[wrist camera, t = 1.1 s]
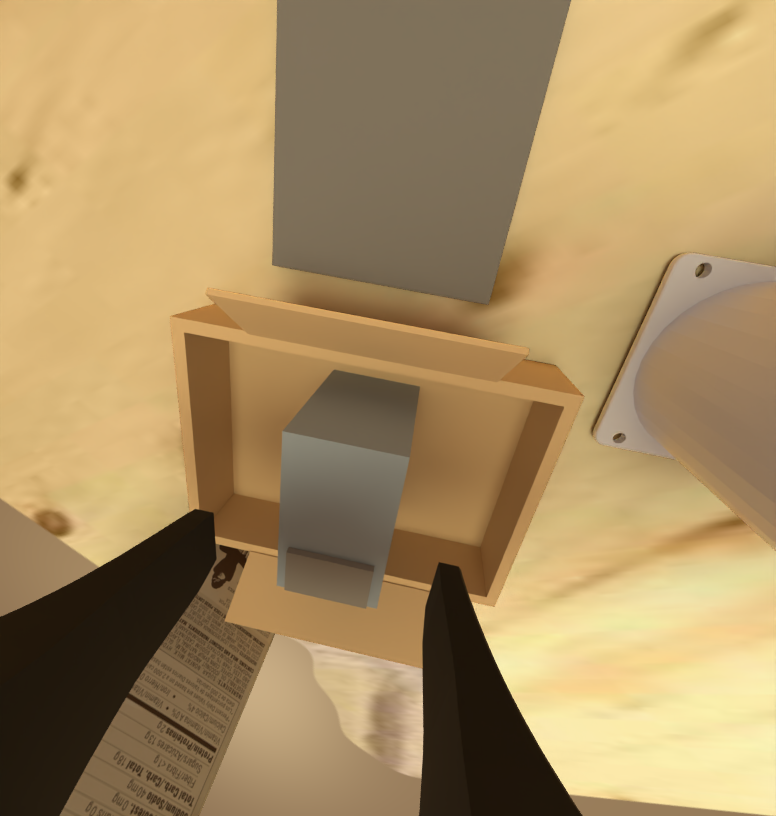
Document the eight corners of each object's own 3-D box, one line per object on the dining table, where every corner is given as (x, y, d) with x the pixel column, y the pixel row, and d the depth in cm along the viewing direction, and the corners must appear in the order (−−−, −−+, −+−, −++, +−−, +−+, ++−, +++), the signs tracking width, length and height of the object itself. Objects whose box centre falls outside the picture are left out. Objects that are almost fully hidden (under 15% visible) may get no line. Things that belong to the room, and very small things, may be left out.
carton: (571, 323, 15) (646, 370, 9) (477, 572, 21) (490, 687, 16) (220, 259, 16) (103, 269, 10) (230, 517, 22) (161, 608, 17)
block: (420, 386, 16) (409, 462, 11) (394, 506, 19) (375, 614, 14) (333, 369, 17) (279, 435, 11) (321, 490, 20) (274, 591, 14)
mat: (567, 4, 11) (572, -4, 11) (487, 303, 15) (488, 304, 15) (283, -35, 12) (278, -44, 11) (276, 264, 15) (272, 265, 15)
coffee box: (227, 616, 26) (-41, 1085, 12) (153, 562, 25) (-256, 1018, 10) (309, 561, 23) (76, 1129, 8) (229, 494, 21) (-225, 1038, 7)
